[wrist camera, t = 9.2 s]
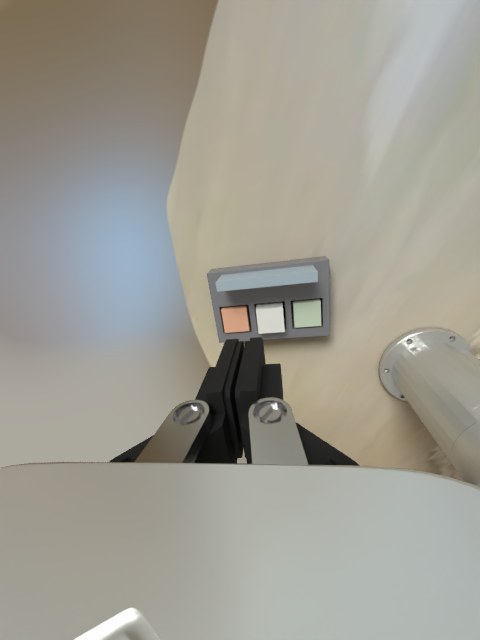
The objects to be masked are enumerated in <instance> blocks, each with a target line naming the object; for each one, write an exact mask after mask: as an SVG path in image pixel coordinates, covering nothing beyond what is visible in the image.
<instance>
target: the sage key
mask: <svg viewBox="0 0 480 640" xmlns="http://www.w3.org/2000/svg"><path fill="white" fill-rule="evenodd" d="M292 307H293V321H294V327H295V328H299V327H313V326H321V301H320V299H319V298H315V299H304V300H293V301H292Z"/></svg>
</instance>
